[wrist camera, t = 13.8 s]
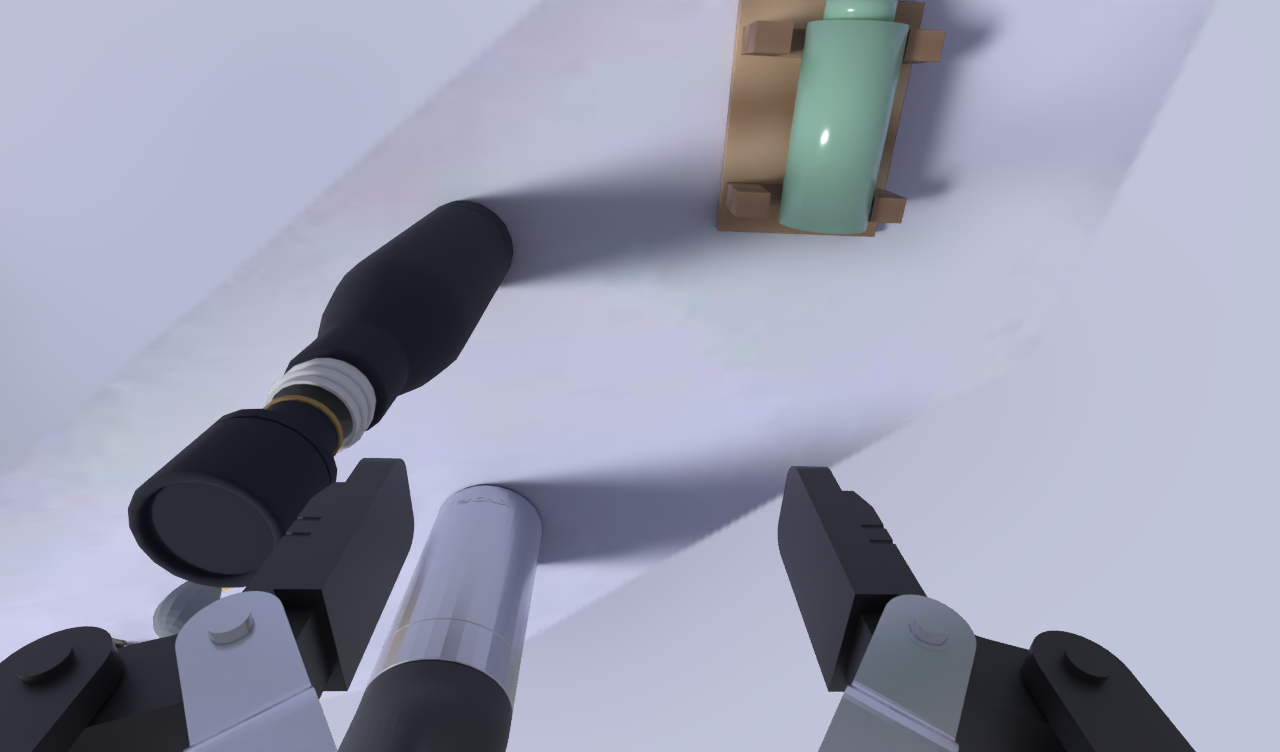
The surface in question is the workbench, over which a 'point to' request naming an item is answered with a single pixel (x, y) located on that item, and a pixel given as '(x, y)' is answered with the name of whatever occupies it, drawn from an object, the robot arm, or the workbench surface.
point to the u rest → (765, 107)
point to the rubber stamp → (182, 607)
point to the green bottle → (841, 116)
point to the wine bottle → (323, 398)
